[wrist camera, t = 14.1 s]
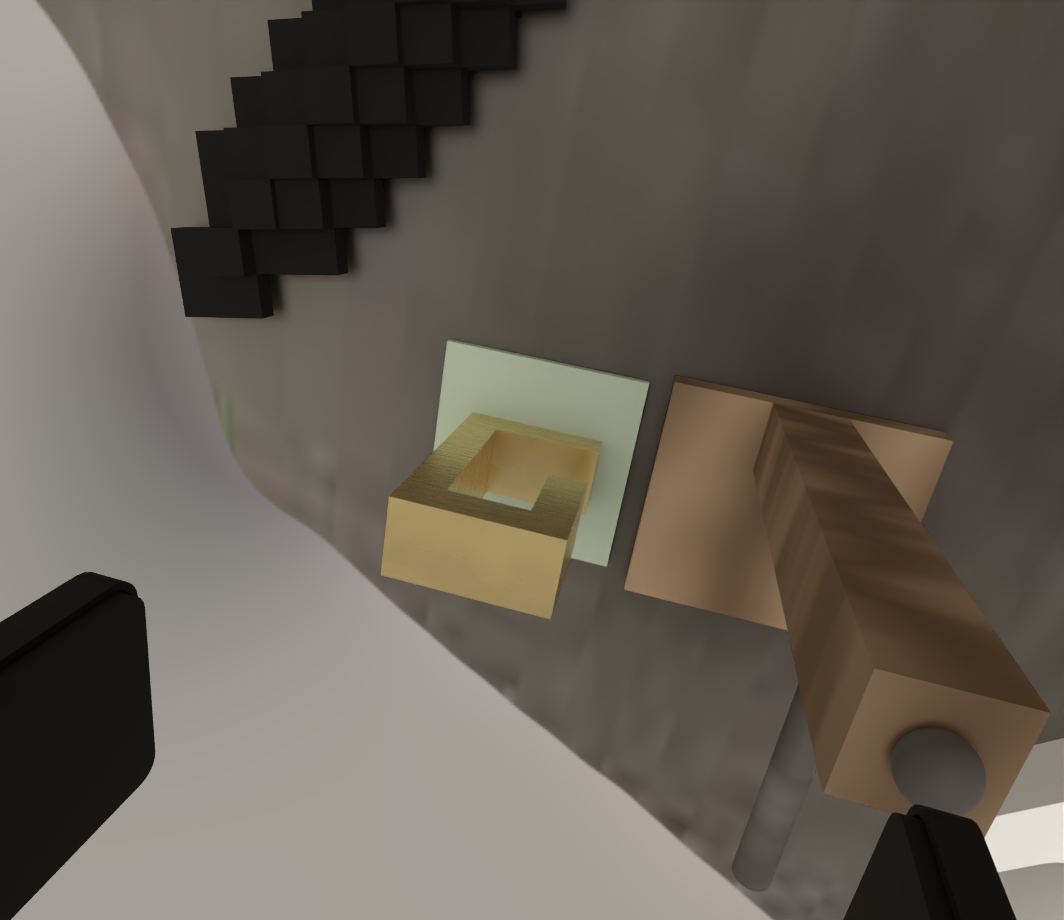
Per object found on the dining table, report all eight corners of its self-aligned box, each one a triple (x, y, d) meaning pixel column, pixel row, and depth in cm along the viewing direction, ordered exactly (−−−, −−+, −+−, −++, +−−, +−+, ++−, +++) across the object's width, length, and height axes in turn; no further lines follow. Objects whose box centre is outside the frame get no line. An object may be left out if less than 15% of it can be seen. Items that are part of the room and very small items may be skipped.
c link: (602, 441, 33) (567, 540, 23) (589, 502, 34) (550, 619, 25) (472, 412, 33) (389, 496, 24) (463, 472, 35) (380, 574, 25)
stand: (944, 431, 30) (1361, 832, 11) (849, 671, 34) (1036, 1244, 16) (675, 375, 31) (650, 647, 13) (617, 612, 36) (535, 1073, 17)
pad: (649, 381, 32) (649, 383, 31) (607, 562, 35) (606, 566, 35) (450, 338, 33) (447, 340, 33) (427, 518, 36) (424, 521, 36)
